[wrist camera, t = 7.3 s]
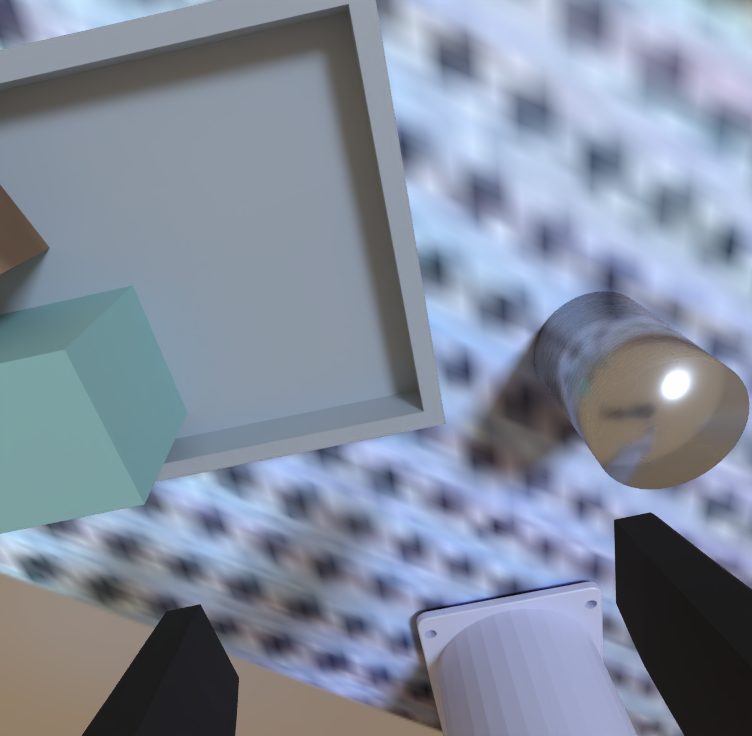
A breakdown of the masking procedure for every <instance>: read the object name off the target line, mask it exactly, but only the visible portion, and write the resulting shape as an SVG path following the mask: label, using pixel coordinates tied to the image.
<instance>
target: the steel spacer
mask: <svg viewBox="0 0 752 736" xmlns="http://www.w3.org/2000/svg"><path fill="white" fill-rule="evenodd" d="M534 363H535V368H536V371H537V373H538V375H539V377H540V379H541V380H542V382H543V383H544V385H545V386H546V388H547V389H548V390H549V392H550V393H551V395H552V396H553V398H554V399H555V400H556V402H557V403H558V405H559V406H560V408H561V409H562V410H563V412H564V413H565V415H566V416H567V418H568V419H569V420H570V422H571V423H572V425H573V426H574V428H575V429H576V430H577V432H578V433H579V435H580V436H581V438H582V439H583V440H584V442H585V443H586V445H587V446H588V448H589V449H590V450H591V452H592V453H593V455H594V456H595V458H596V459H597V460H598V462H599V463H600V465H601V466H602V468H603V469H604V470H605V472H606V473H607V474H608V475H609V476H611V477H612V478H613V479H615V480H616V481H618V482H620V483H622V484H624V485H627V486H630V487H634V488H639V489H662V488H668V487H673V486H677V485H680V484H683V483H686V482H688V481H690V480H693V479H695V478H697V477H699V476H700V475H702V474H704V473H706V472H707V471H709V470H710V469H711V468H713V467H714V466H715V465H717V464H718V463H719V462H720V461H721V460H722V459H723V458H724V457H725V456H726V455H727V454H728V453H729V452H730V451H731V450H732V449H733V447H734V446H735V445H736V443H737V442H738V440H739V439H740V437H741V435H742V433H743V431H744V429H745V426H746V423H747V419H748V415H749V396H748V393H747V389H746V387H745V385H744V383H743V381H742V380H741V379H740V377H739V376H738V375H737V374H736V373H735V372H734V371H732V370H731V369H730V368H728V367H727V366H726V365H724V364H723V363H721V362H720V361H719V360H717V359H716V358H714V357H713V356H712V355H710V354H709V353H707V352H706V351H704V350H703V349H702V348H700V347H699V346H697V345H696V344H695V343H693V342H692V341H690V340H689V339H688V338H686V337H685V336H683V335H682V334H681V333H679V332H678V331H676V330H675V329H673V328H672V327H671V326H669V325H668V324H666V323H665V322H664V321H662V320H661V319H659V318H658V317H657V316H655V315H654V314H652V313H651V312H650V311H648V310H647V309H645V308H644V307H642V306H641V305H640V304H638V303H637V302H635V301H634V300H632V299H631V298H629V297H627V296H625V295H622V294H619V293H615V292H594V293H589V294H585V295H582V296H579V297H577V298H575V299H573V300H571V301H569V302H567V303H566V304H564V305H563V306H561V307H560V308H559V309H558V310H557V311H555V312H554V313H553V314H552V315H551V316H550V318H549V319H548V320H547V321H546V323H545V324H544V326H543V327H542V329H541V331H540V333H539V335H538V337H537V340H536V344H535V349H534Z"/></svg>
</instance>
